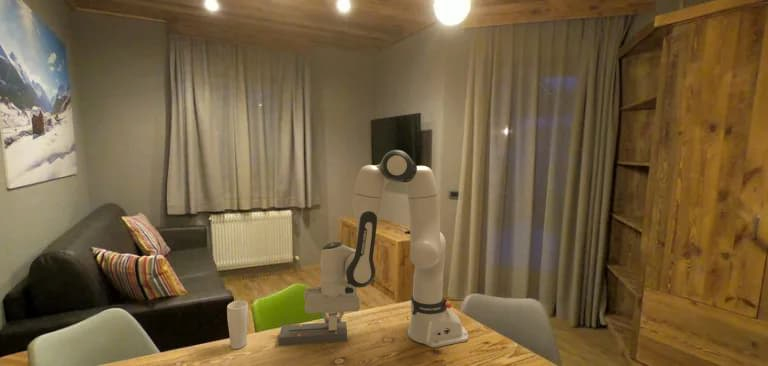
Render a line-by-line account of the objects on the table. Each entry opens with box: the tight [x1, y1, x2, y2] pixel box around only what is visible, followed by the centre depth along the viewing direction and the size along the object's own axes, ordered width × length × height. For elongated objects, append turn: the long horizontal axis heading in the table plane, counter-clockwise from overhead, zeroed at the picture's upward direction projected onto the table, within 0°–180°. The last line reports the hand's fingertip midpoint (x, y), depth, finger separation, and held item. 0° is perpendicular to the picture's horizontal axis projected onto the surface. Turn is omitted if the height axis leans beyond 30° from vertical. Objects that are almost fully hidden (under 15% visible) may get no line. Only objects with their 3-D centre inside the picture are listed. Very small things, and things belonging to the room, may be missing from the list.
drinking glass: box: [226, 300, 249, 350], centre depth 126 cm, size 7×7×15 cm
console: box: [278, 321, 348, 347], centre depth 133 cm, size 24×9×3 cm, turn 99°
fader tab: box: [328, 312, 338, 331], centre depth 134 cm, size 3×5×5 cm, turn 9°
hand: (332, 322), depth 134 cm, fingers closed on fader tab, 3 cm apart
